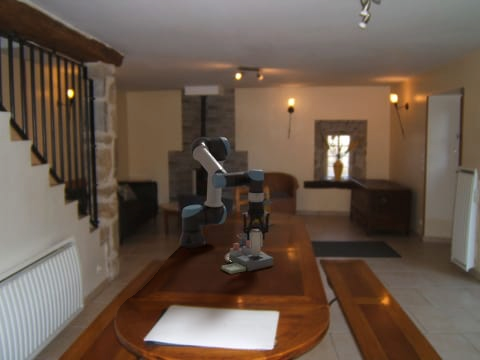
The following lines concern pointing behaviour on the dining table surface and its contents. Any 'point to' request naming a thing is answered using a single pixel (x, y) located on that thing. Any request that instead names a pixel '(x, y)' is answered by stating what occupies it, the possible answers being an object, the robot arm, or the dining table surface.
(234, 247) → the plunger
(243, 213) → the robot arm
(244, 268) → the tray
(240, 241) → the mug
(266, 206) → the lantern
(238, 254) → the housing
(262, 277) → the dining table surface
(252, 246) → the cylinder
